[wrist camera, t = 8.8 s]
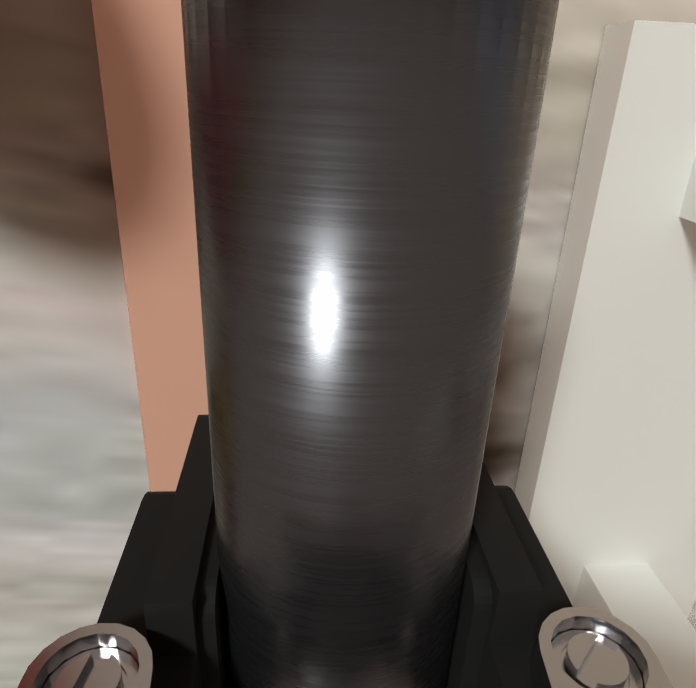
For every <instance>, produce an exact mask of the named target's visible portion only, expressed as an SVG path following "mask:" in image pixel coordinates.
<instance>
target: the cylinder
mask: <svg viewBox="0 0 696 688" xmlns="http://www.w3.org/2000/svg"><path fill="white" fill-rule="evenodd" d="M558 4H559V0H181V12H182V27H183V42H184V57H185V72H186V87H187V102H188V117H189V131H190V146H191V161H192V176H193V191H194V206H195V221H196V236H197V251H198V266H199V281H200V295H201V310H202V325H203V340H204V355H205V370H206V385H207V400H208V415H209V430H210V444H211V459H212V474H213V489H214V504H215V519H216V534H217V549H218V560H219V569H220V584H221V599H222V614H223V629H224V644H225V659H226V674H227V688H445V685H446V679H447V673H448V667H449V661H450V655H451V649H452V643H453V637H454V631H455V625H456V619H457V613H458V606H459V600H460V594H461V588H462V582H463V576H464V570H465V564H466V558H467V552H468V546H469V540H470V534H471V528H472V522H473V516H474V510H475V504H476V498H477V492H478V486H479V480H480V474H481V468H482V462H483V456H484V450H485V444H486V438H487V432H488V426H489V420H490V414H491V408H492V402H493V396H494V390H495V384H496V378H497V372H498V366H499V360H500V354H501V347H502V341H503V335H504V329H505V323H506V317H507V311H508V305H509V299H510V293H511V287H512V281H513V275H514V269H515V263H516V257H517V251H518V245H519V239H520V233H521V227H522V221H523V215H524V209H525V203H526V197H527V191H528V185H529V179H530V173H531V167H532V161H533V155H534V149H535V143H536V137H537V131H538V125H539V119H540V113H541V107H542V101H543V95H544V88H545V82H546V76H547V70H548V64H549V58H550V52H551V46H552V40H553V34H554V28H555V22H556V16H557V10H558Z"/></svg>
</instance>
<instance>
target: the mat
mask: <svg viewBox="0 0 696 688" xmlns="http://www.w3.org/2000/svg"><path fill="white" fill-rule="evenodd" d="M91 4H92V12H93V20H94V29H95V37H96V45H97V53H98V62H99V70H100V78H101V87H102V95H103V103H104V111H105V120H106V128H107V136H108V145H109V153H110V161H111V170H112V178H113V186H114V194H115V203H116V211H117V219H118V228H119V236H120V244H121V252H122V261H123V269H124V277H125V286H126V294H127V302H128V310H129V319H130V327H131V335H132V344H133V352H134V360H135V369H136V377H137V385H138V393H139V402H140V410H141V418H142V427H143V435H144V443H145V451H146V460H147V468H148V476H149V485H150V492H156V491H176V488H177V485H178V481H179V478H180V474H181V471H182V468H183V464H184V461H185V457H186V454H187V451H188V447H189V444H190V440H191V437H192V434H193V430H194V427H195V423H196V420H197V417H198V415H208V400H207V385H206V370H205V355H204V340H203V325H202V310H201V295H200V281H199V266H198V251H197V236H196V221H195V206H194V191H193V176H192V161H191V146H190V131H189V117H188V102H187V87H186V72H185V57H184V42H183V27H182V12H181V0H91Z"/></svg>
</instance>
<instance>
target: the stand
mask: <svg viewBox="0 0 696 688" xmlns="http://www.w3.org/2000/svg"><path fill="white" fill-rule="evenodd" d="M515 495H516V497H517V499H518V501H519V503H520V505H521V507H522V509H523V510H524V512H525V514H526V516H527V518H528V520H529V522H530V524H531V526H532V528H533V530H534V532H535V534H536V536H537V538H538V540H539V542H540V544H541V546H542V547H543V549H544V551H545V553H546V555H547V557H548V559H549V561H550V563H551V565H552V567H553V569H554V571H555V573H556V575H557V577H558V579H559V581H560V583H561V584H562V586H563V588H564V590H565V592H566V594H567V596H568V598H569V600H570V602H571V604H572V606H573V607H579V606H580V607H586V608H591V609H597V610H600V611H602V612H605V613H607V614H610V615H612V616H615V617H616V618H618V619H619V620H621V621H623V622H624V623H626V624H627V625H629V626H630V627H632V628H633V629H634V630H635V631H636V632H637V633H638V634H639V635H640V636H642V637H643V638H644V639H645V640H646V641H647V643H648V644H649V646H650V647H651V649H652V650H653V652H654V653H655V654H656V656H657V657H658V659H659V661H660V663H661V665H662V667H663V669H664V671H665V673H666V675H667V677H668V679H669V681H670V683H671V685H672V687H673V688H696V630H695V629H694V627H693V626H692V625H691V623H690V622H689V620H688V618H689V615H690V612H691V610H692V607H693V605H694V602H695V600H696V24H695V23H678V22H660V21H642V20H633V21H627V22H621V23H615V24H609V25H606V26H605V31H604V37H603V42H602V47H601V52H600V57H599V62H598V67H597V72H596V78H595V83H594V88H593V93H592V98H591V103H590V108H589V113H588V119H587V124H586V129H585V134H584V139H583V144H582V149H581V154H580V160H579V165H578V170H577V175H576V180H575V185H574V190H573V195H572V201H571V206H570V211H569V216H568V221H567V226H566V231H565V236H564V242H563V247H562V252H561V257H560V262H559V267H558V272H557V277H556V283H555V288H554V293H553V298H552V303H551V308H550V313H549V319H548V324H547V329H546V334H545V339H544V344H543V349H542V354H541V360H540V365H539V370H538V375H537V380H536V385H535V390H534V395H533V401H532V406H531V411H530V416H529V421H528V426H527V431H526V436H525V442H524V447H523V452H522V457H521V462H520V467H519V472H518V477H517V483H516V488H515Z"/></svg>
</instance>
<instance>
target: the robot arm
mask: <svg viewBox="0 0 696 688" xmlns="http://www.w3.org/2000/svg"><path fill="white" fill-rule="evenodd" d="M18 688H227V674H226V659H225V644H224V629H223V614H222V599H221V584H220V569H219V560H218V549H217V534H216V519H215V504H214V489H213V474H212V459H211V444H210V430H209V415H198V417H197V420H196V423H195V427H194V430H193V434H192V437H191V440H190V444H189V447H188V451H187V454H186V457H185V461H184V464H183V468H182V471H181V474H180V478H179V481H178V485H177V488H176V491H156V492H147V493H146V494H145V495H144V497H143V499H142V502H141V504H140V507H139V510H138V513H137V515H136V518H135V521H134V524H133V526H132V529H131V532H130V534H129V537H128V540H127V543H126V545H125V548H124V551H123V554H122V556H121V559H120V562H119V565H118V567H117V570H116V573H115V576H114V578H113V581H112V584H111V587H110V589H109V592H108V595H107V597H106V600H105V603H104V606H103V608H102V611H101V614H100V617H99V619H98V622H97V624H94V625H89V626H85V627H81V628H78V629H76V630H74V631H72V632H70V633H68V634H66V635H63V636H61V637H60V638H58V639H57V640H56V641H54V642H53V643H52V644H50V645H49V646H48V647H46V648H45V649H44V650H42V652H41V653H40V654H39V655H38V656H37V657H36V658H35V660H34V661H33V662H32V663H31V664H30V665H29V666H28V668H27V670H26V672H25V674H24V676H23V678H22V680H21V682H20V684H19V686H18ZM445 688H673V687H672V685H671V683H670V681H669V679H668V677H667V675H666V673H665V671H664V669H663V667H662V665H661V663H660V661H659V659H658V657H657V656H656V654H655V653H654V652H653V650H652V649H651V647H650V646H649V644H648V643H647V641H646V640H645V639H644V638H643V637H642V636H640V635H639V634H638V633H637V632H636V631H635V630H634V629H633V628H632V627H630V626H629V625H627V624H626V623H624V622H623V621H621V620H619V619H618V618H616V617H615V616H612V615H610V614H607V613H605V612H602V611H600V610H597V609H591V608H586V607H580V606H579V607H573V606H572V604H571V602H570V600H569V598H568V596H567V594H566V592H565V590H564V588H563V586H562V584H561V583H560V581H559V579H558V577H557V575H556V573H555V571H554V569H553V567H552V565H551V563H550V561H549V559H548V557H547V555H546V553H545V551H544V549H543V547H542V546H541V544H540V542H539V540H538V538H537V536H536V534H535V532H534V530H533V528H532V526H531V524H530V522H529V520H528V518H527V516H526V514H525V512H524V510H523V509H522V507H521V505H520V503H519V501H518V499H517V497H516V495H515V493H514V492H513V490H512V489H511V488H510V487H508V486H494V484H493V482H492V480H491V478H490V476H489V474H488V472H487V470H486V467H485V465H484V463H483V462H482V468H481V474H480V480H479V486H478V492H477V498H476V504H475V510H474V516H473V522H472V528H471V534H470V540H469V546H468V552H467V558H466V564H465V570H464V576H463V582H462V588H461V594H460V600H459V606H458V613H457V619H456V625H455V631H454V637H453V643H452V649H451V655H450V661H449V667H448V673H447V679H446V685H445Z"/></svg>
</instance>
